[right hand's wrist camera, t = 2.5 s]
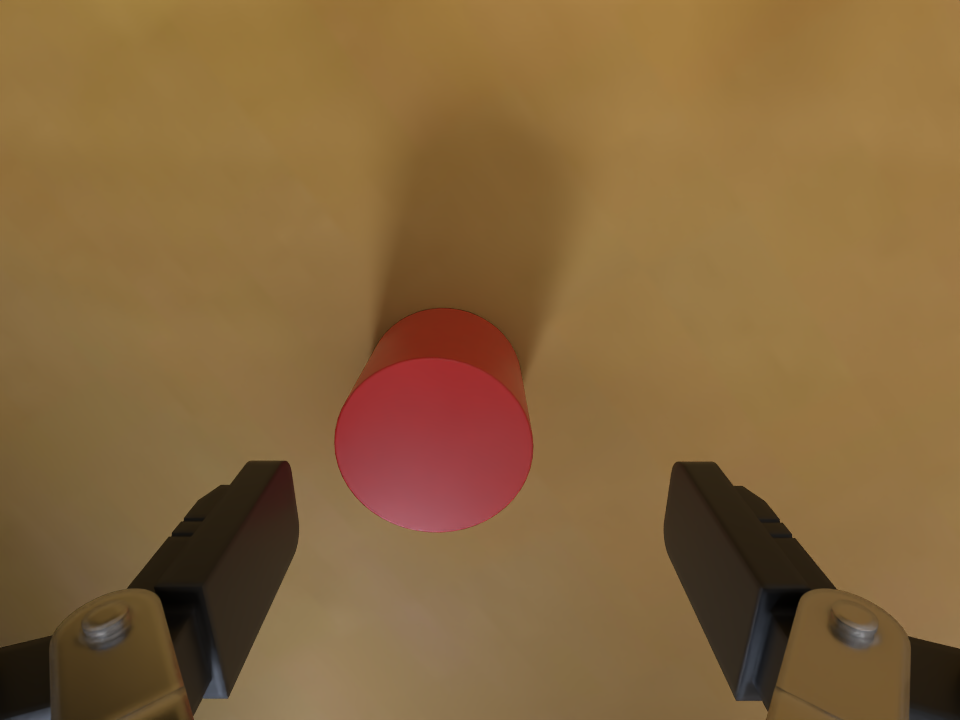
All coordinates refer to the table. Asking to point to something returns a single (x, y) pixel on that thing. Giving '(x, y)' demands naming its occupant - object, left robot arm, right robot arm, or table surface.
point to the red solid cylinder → (437, 424)
